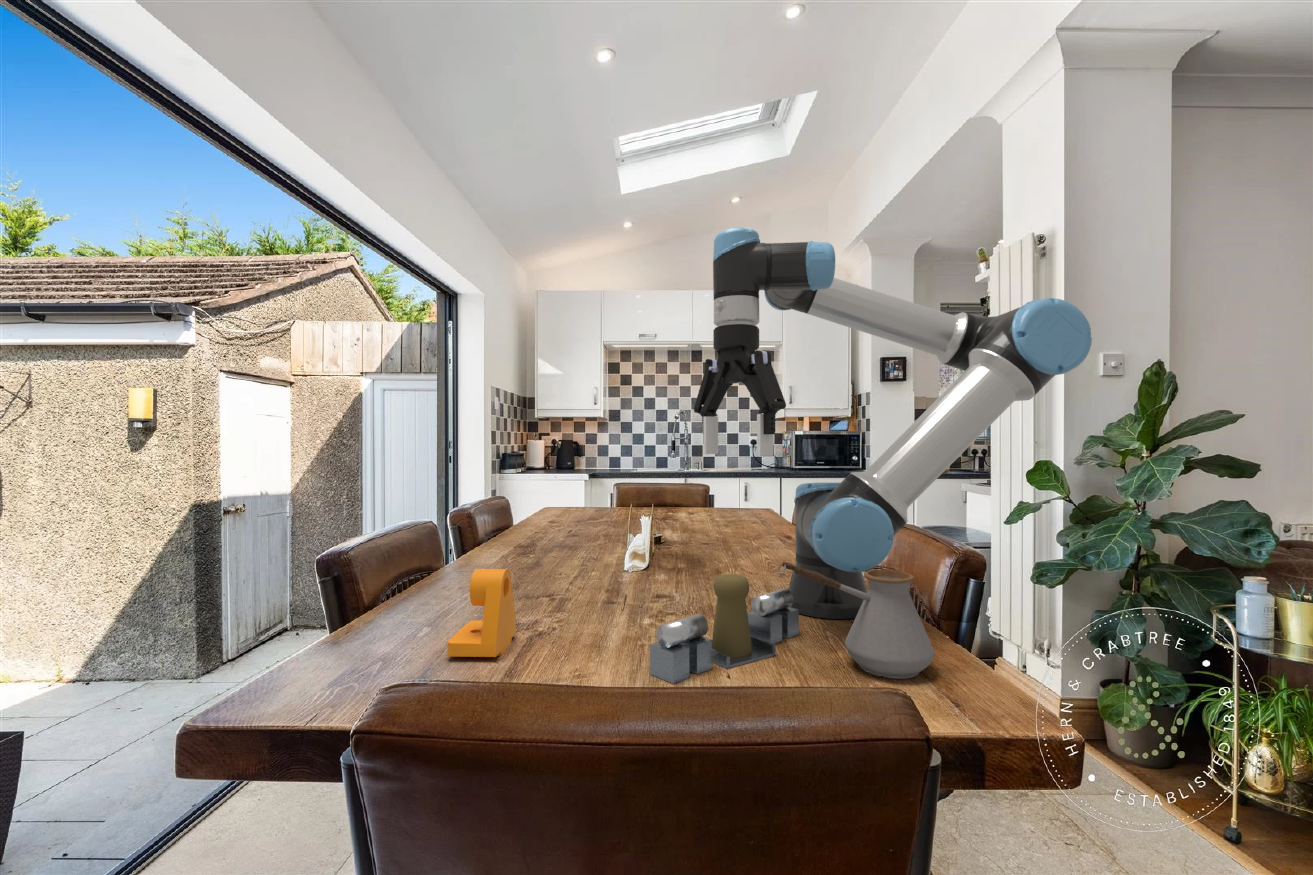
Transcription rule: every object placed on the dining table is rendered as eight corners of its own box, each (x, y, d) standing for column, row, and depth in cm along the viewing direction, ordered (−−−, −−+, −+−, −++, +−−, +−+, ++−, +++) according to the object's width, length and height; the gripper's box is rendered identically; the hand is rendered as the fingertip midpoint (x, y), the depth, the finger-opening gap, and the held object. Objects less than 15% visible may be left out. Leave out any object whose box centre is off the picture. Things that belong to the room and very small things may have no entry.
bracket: (471, 636, 97) (470, 561, 97) (515, 637, 97) (515, 562, 97) (445, 662, 86) (445, 577, 86) (496, 662, 86) (495, 577, 86)
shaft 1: (688, 659, 87) (688, 610, 87) (712, 668, 83) (711, 617, 83) (650, 674, 82) (650, 622, 81) (673, 683, 78) (673, 629, 78)
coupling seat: (734, 638, 96) (734, 628, 96) (775, 655, 88) (775, 644, 88) (687, 649, 91) (687, 638, 91) (726, 668, 83) (726, 657, 83)
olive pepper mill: (736, 660, 85) (736, 582, 85) (702, 650, 89) (702, 575, 89) (760, 649, 90) (760, 574, 90) (727, 639, 94) (727, 568, 94)
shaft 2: (770, 645, 93) (770, 599, 92) (747, 638, 96) (747, 593, 96) (798, 634, 98) (798, 590, 98) (775, 627, 101) (775, 585, 101)
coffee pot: (906, 651, 90) (906, 550, 90) (953, 682, 79) (952, 566, 78) (766, 657, 88) (765, 553, 87) (793, 691, 76) (792, 571, 76)
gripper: (674, 334, 109) (674, 453, 109) (772, 310, 88) (773, 457, 88) (707, 338, 113) (707, 452, 113) (809, 316, 92) (809, 456, 92)
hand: (736, 455), depth 101 cm, fingers open, 13 cm apart
